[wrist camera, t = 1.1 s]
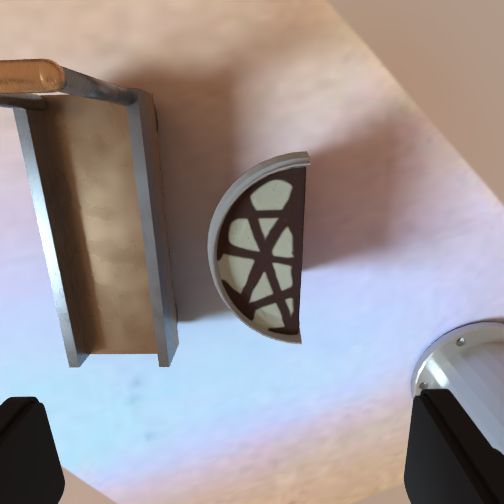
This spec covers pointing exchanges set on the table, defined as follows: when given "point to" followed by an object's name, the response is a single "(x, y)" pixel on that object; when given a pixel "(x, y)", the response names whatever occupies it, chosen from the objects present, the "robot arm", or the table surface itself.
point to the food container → (262, 246)
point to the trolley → (97, 208)
